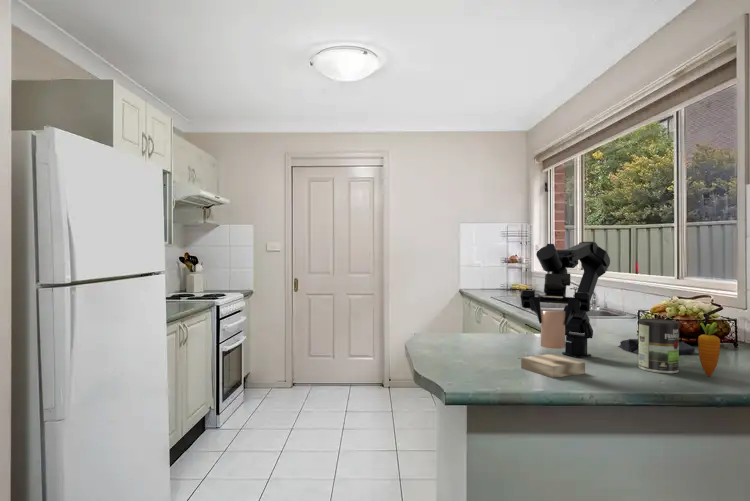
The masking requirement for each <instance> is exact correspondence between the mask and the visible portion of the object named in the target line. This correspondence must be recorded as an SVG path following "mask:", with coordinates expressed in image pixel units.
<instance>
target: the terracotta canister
mask: <svg viewBox="0 0 750 501" xmlns="http://www.w3.org/2000/svg"><path fill="white" fill-rule="evenodd" d="M565 341H566V336H565V311H564V310H562V309H561V310H560V309H541V324H540V346H541V347H543V348H546V349H555V350H556V349H557V350H559V349H560V350H561V349H564V348H565Z"/></svg>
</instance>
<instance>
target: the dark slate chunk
mask: <svg viewBox="0 0 750 501" xmlns="http://www.w3.org/2000/svg"><path fill="white" fill-rule="evenodd" d="M617 347H618V348H620V349H622V350H623V351H626V352H629V353H632V354H636V355H639V338H629V339H623V340H621V341H620V345H618V346H617ZM695 351H696V348H695V347H694V346H691V345H690V344H688V343H686V342H684V341H679V355H688V354H691V353H692V354H693V353H694V352H695Z"/></svg>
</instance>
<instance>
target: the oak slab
mask: <svg viewBox="0 0 750 501" xmlns="http://www.w3.org/2000/svg"><path fill="white" fill-rule="evenodd" d="M520 361H521V362H520V364H521V365H520V368H521V369H524V370H527V371H530V372H533V373H537V374H540V375H542V376H546V377H548V378H553V379H554V378H562V377H568V376H569V377H570V376H576V375H577V376H578V375H582V374H586V362H585V361H580V360H576V359H573V358H569V357H565V356H561V355H557V354H553V353H550V354H539V355H533V356H530V355H529V356H523V357H522V356H521V359H520Z"/></svg>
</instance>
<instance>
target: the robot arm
mask: <svg viewBox="0 0 750 501" xmlns="http://www.w3.org/2000/svg"><path fill="white" fill-rule="evenodd" d="M535 254H536V258H537V259H538V262H539V263H540V265H541V266H540V267H541V268H542V269H543V271H544V272H547V273H545V274H544V284H543V293H544V294H539V293H536V290H534V289H533V290H531V289H523V290H521V292H520V302H521V307H522V308H523V309H530V311H532V312H534V313H535V315H536V318H537V320H538V322H539V324H540V325H541V310H542V307H541V303H546V304H547V305H549V304H550V305H563V306H564V305H565V306H564V307H563V311H565V350H564V351H562V352H561V354H562V355H566V356H569V357H574V358H585V357H591V356H592V354H591V353H588V339H593V335H594V330H593V328H592V325H591V323H590V322H591V320H590V316H589V315H588V312H590V310H591V300H592V297H593V294H594V292H595V289H596V286H597V284H598V283H597V282H598V280H599V278H601V277H602V276H603V275H604V274H606V272H607V270H608V268H609V267H610V264H611V258H610V255H609V254H608V252H607V250H605V249H603V248H602V247H600V246H599V245H598V243H597V242H594V241H581V242H579V243H577V244H576V245H573V246H571V247H570V248H566V249H565V248H562V249H556V247H555V243H546V245H545V246H542V247H541V248H539V249H538V250H537V251H536V253H535ZM579 263H581V267H582V270H583V272H582V273H583V274H582V277H581V279H580V282H579V284H578V288H577V290H576V291H575V292H574V297H573V296H567V295H566V294H567V287H568V286H571V273H570V272H569V273H568V269H574V268H576V267H577V266H578V265H579Z"/></svg>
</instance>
